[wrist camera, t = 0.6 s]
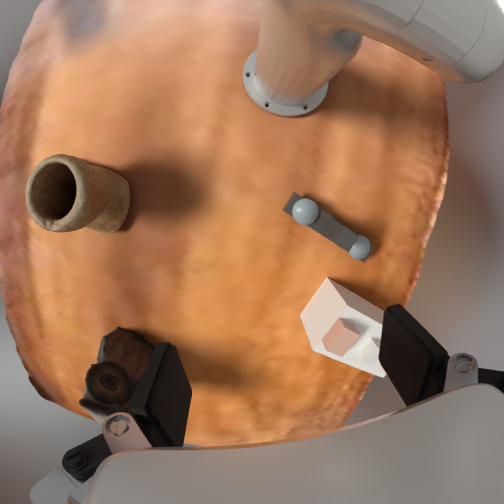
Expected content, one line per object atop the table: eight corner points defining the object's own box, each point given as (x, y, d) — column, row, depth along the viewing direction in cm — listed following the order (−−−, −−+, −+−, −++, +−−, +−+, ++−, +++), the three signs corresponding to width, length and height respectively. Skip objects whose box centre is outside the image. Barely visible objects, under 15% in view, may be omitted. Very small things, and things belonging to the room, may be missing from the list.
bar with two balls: (292, 188, 39) (305, 194, 31) (367, 239, 42) (393, 256, 33) (279, 209, 40) (289, 220, 32) (355, 257, 43) (379, 278, 34)
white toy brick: (326, 276, 43) (354, 315, 31) (388, 313, 46) (421, 350, 34) (299, 314, 45) (316, 361, 33) (363, 345, 48) (388, 387, 36)
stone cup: (144, 167, 37) (95, 169, 23) (122, 239, 40) (74, 272, 26) (71, 142, 35) (11, 140, 21) (55, 208, 38) (-3, 228, 24)
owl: (112, 319, 45) (62, 391, 26) (176, 336, 46) (148, 422, 27) (115, 367, 48) (79, 437, 29) (171, 383, 49) (151, 462, 30)
